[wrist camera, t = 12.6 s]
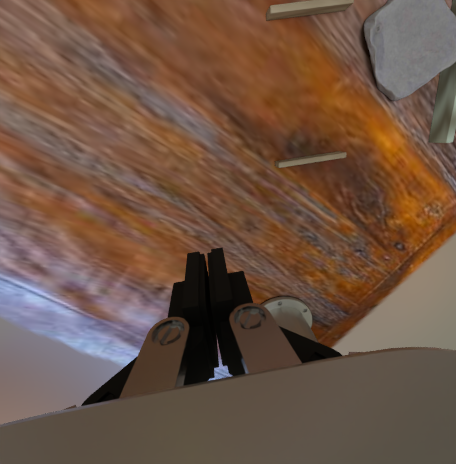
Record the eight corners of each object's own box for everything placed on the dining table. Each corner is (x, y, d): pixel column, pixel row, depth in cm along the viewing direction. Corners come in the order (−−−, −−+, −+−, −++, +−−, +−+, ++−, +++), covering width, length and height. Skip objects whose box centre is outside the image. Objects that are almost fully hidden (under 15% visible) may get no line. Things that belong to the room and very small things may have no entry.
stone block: (380, 109, 38) (450, 56, 34) (397, 111, 33) (479, 49, 30) (340, 38, 34) (413, -31, 30) (353, 29, 30) (440, -52, 26)
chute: (434, 141, 38) (452, 142, 36) (275, 166, 37) (281, 168, 34) (461, -12, 31) (487, -26, 28) (266, 13, 30) (272, 1, 27)
